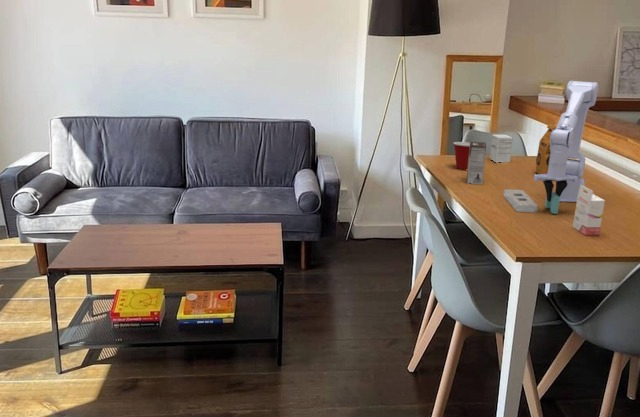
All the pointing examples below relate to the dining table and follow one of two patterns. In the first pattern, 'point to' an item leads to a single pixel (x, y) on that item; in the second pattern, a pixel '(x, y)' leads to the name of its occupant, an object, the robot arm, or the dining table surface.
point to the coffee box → (476, 162)
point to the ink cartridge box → (588, 212)
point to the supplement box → (501, 148)
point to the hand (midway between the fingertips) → (552, 200)
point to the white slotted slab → (520, 201)
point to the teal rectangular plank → (553, 203)
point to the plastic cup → (462, 154)
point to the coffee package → (544, 152)
